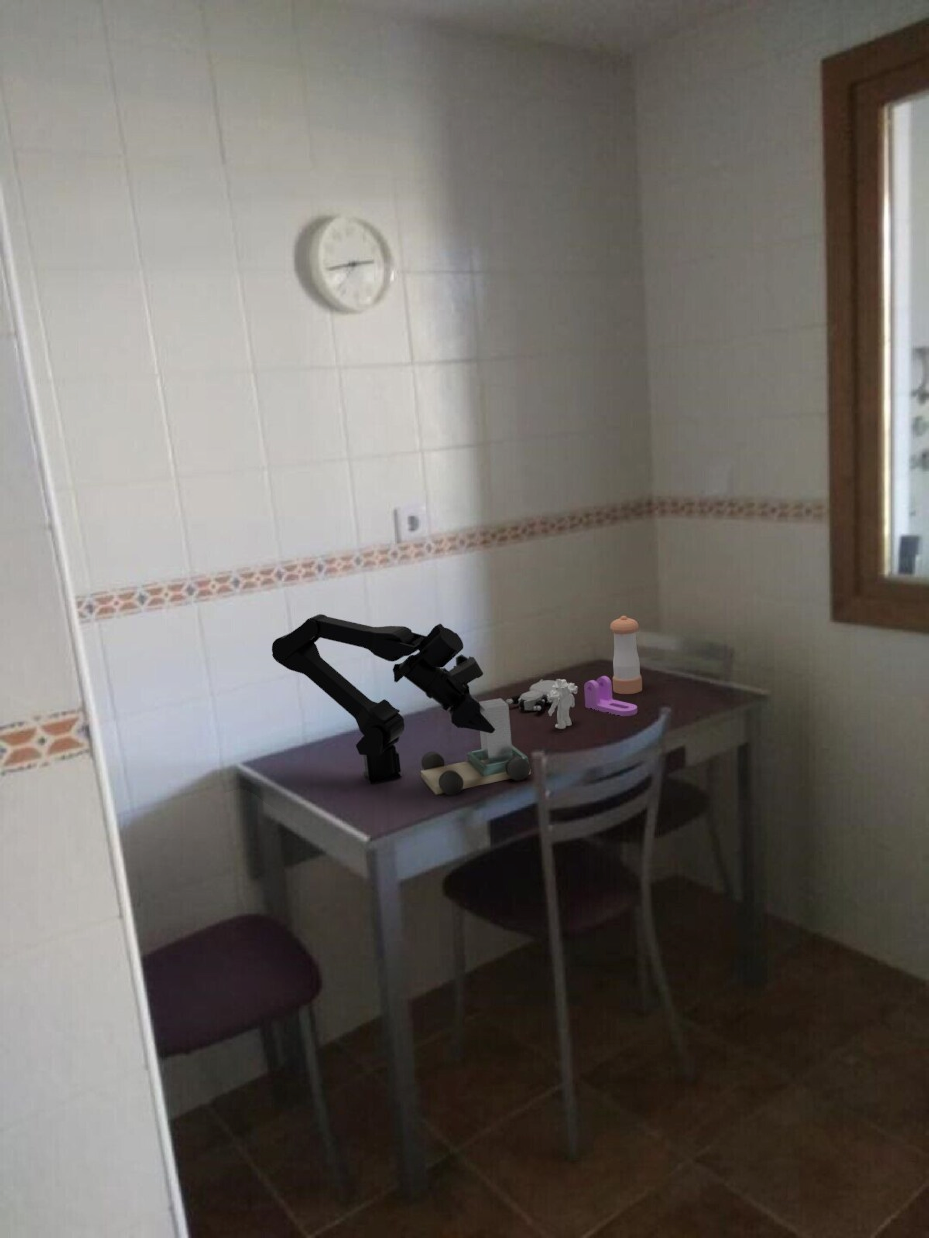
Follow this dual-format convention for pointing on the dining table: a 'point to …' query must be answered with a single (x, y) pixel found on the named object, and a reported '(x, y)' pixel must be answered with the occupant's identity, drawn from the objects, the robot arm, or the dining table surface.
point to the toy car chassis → (471, 771)
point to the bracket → (605, 698)
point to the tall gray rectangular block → (496, 732)
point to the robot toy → (534, 696)
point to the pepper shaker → (625, 657)
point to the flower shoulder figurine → (562, 702)
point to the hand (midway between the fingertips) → (489, 724)
